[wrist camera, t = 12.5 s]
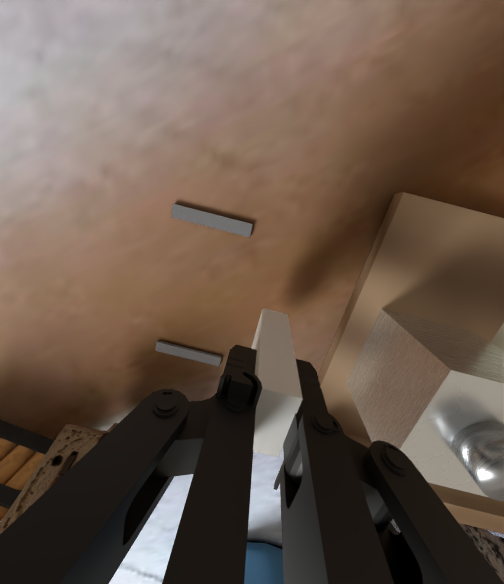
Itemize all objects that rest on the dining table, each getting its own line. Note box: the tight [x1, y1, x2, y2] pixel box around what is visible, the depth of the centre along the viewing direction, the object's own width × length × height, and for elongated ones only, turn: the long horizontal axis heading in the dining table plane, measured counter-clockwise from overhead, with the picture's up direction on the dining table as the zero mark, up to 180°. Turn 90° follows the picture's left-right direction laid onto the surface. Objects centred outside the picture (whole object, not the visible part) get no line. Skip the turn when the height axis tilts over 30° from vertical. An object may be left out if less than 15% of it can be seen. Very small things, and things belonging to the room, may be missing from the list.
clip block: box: [346, 309, 504, 501], centre depth 12 cm, size 6×6×8 cm
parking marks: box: [156, 204, 253, 366], centre depth 16 cm, size 11×5×1 cm, turn 166°
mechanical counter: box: [0, 423, 117, 534], centre depth 17 cm, size 7×13×10 cm, turn 176°
